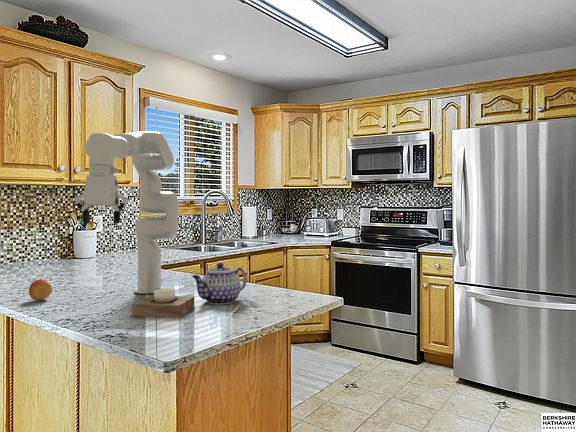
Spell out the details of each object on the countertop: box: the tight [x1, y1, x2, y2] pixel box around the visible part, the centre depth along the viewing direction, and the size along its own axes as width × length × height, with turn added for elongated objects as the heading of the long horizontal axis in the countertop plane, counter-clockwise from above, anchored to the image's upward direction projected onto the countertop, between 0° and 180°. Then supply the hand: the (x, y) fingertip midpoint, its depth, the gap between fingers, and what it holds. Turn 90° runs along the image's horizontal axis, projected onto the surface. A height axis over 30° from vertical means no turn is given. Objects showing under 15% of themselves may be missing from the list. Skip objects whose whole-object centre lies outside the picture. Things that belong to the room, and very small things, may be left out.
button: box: [153, 287, 176, 302], centre depth 158 cm, size 7×7×4 cm
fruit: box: [28, 279, 53, 302], centre depth 179 cm, size 8×8×8 cm
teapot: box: [191, 262, 248, 305], centre depth 175 cm, size 25×15×15 cm, turn 132°
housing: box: [131, 295, 195, 319], centre depth 158 cm, size 16×16×4 cm
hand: (101, 223), depth 151 cm, fingers open, 9 cm apart
